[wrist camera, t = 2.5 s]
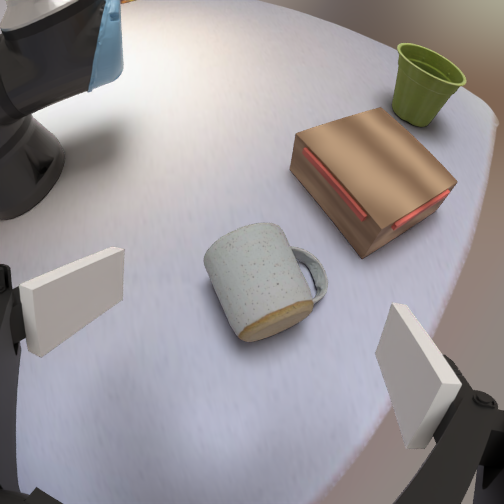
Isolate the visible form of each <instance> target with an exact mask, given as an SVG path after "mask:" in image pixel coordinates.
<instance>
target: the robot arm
mask: <svg viewBox="0 0 504 504" xmlns="http://www.w3.org/2000/svg"><path fill="white" fill-rule="evenodd" d="M6 3H7V10H6V12H5V14H4V16H3V19H2V21H1V23H0V29H1V31H2V34H0V219H1V220H5V219H11V218H14V217H17V216H19V215H21V214H23V213H25V212H26V211H28V210H29V209H31V208H32V207H33V206H35V205H36V204H37V203H38V202H39V201H40V200H41V199H42V198H43V197H44V196H45V195H46V194H47V193H48V192H49V191H50V189H51V188H52V187H53V185H54V184H55V182H56V181H57V179H58V177H59V175H60V173H61V171H62V168H63V165H64V159H65V156H64V151H63V149H62V147H61V145H60V143H59V141H58V139H57V138H56V137H55V136H54V135H53V134H52V133H51V132H50V131H49V130H47V129H46V128H45V127H44V126H43V125H42V124H40V123H39V122H38V121H37V120H36V119H34V118H33V116H32V115H31V114H32V113H34V112H36V111H38V110H40V109H43V108H45V107H47V106H50V105H52V104H55V103H57V102H59V101H62V100H64V99H67V98H69V97H72V96H75V95H77V94H80V93H83V92H86V91H87V92H91V91H92V90H93V89H94V88H97V87H99V86H102V85H105V84H108V83H110V82H113V81H115V80H116V79H117V78H118V77H119V76H120V75H121V73H122V71H123V48H122V31H121V7H120V0H6ZM124 251H125V249H121V248H117V247H110V248H107V249H105V250H102V251H99V252H97V253H94V254H92V255H89V256H87V257H84V258H82V259H79V260H77V261H74V262H72V263H69V264H67V265H64V266H62V267H59V268H57V269H55V270H52V271H50V272H47V273H45V274H43V275H40V276H38V277H36V278H33V279H31V280H28V281H26V282H24V283H22V284H19V287H17V288H14V289H12V282H11V270H10V267H9V266H8V265H4V264H0V504H63V503H61V502H59V501H58V500H56V499H54V498H53V497H51V496H50V495H48V494H46V493H45V492H43V491H42V490H40V489H39V488H37V487H36V488H35V489H34V491H33V492H32V493H31V494H30V495H28V494H24V493H21V492H20V489H19V485H18V478H17V462H16V403H17V387H18V375H19V365H20V356H21V346H20V341H21V340H22V339H24V338H26V341H27V347H28V351H29V352H31V353H33V354H35V355H37V356H39V357H41V358H42V357H43V356H44V355H46V354H47V353H49V352H50V351H51V350H53V349H54V348H55V347H57V346H58V345H60V344H61V343H62V342H64V341H65V340H67V339H68V338H69V337H71V336H72V335H73V334H75V333H76V332H78V331H79V330H80V329H82V328H83V327H85V326H86V325H88V324H89V323H90V322H92V321H93V320H95V319H96V318H97V317H99V316H100V315H102V314H103V313H105V312H106V311H107V310H109V309H110V308H112V307H113V306H115V305H116V304H117V303H119V302H120V301H122V300H123V273H124ZM375 355H376V358H377V361H378V364H379V366H380V369H381V372H382V375H383V378H384V381H385V384H386V387H387V390H388V393H389V396H390V399H391V402H392V405H393V408H394V411H395V414H396V418H397V421H398V424H399V427H400V431H401V434H402V437H403V441H404V444H405V448H406V449H425V448H426V446H427V445H428V443H429V442H430V440H431V439H432V437H434V439H435V442H436V445H435V447H434V448H433V450H432V451H431V453H430V454H429V456H428V457H427V459H426V460H425V462H424V463H423V464H422V466H421V468H420V469H419V470H418V472H417V473H416V474H415V476H414V477H413V479H412V480H411V481H410V483H409V484H408V485H407V487H406V488H405V489H404V490H403V492H402V493H401V494H400V495H399V497H398V498H397V499H396V501H395V502H394V503H393V504H461V502H462V500H463V498H464V496H465V494H466V492H467V490H468V488H469V486H470V483H471V481H472V479H473V476H474V474H475V472H476V470H477V474H476V483H475V491H474V499H473V504H504V411H503V410H498V405H497V403H496V401H495V400H494V399H493V398H492V397H491V396H490V395H488V394H486V393H484V392H481V391H477V390H473V389H472V388H471V386H470V385H469V383H468V382H467V381H466V379H465V378H464V376H462V373H461V372H460V370H458V367H457V366H456V365H455V363H454V362H453V361H452V360H451V359H449V358H448V357H447V356H446V355H442V354H441V352H440V351H439V349H438V348H437V347H436V345H435V344H434V342H433V341H432V339H431V338H430V337H429V335H428V334H427V332H426V331H425V330H424V328H423V327H422V326H421V324H420V323H419V321H418V320H417V319H416V317H415V316H414V315H413V313H412V312H411V311H410V309H409V308H408V307H407V305H403V304H398V303H392V304H391V307H390V310H389V313H388V317H387V320H386V323H385V326H384V329H383V332H382V335H381V338H380V341H379V344H378V347H377V349H376V352H375Z"/></svg>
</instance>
